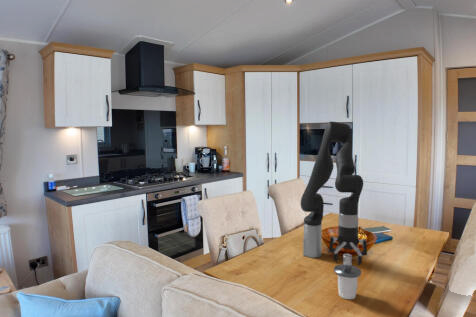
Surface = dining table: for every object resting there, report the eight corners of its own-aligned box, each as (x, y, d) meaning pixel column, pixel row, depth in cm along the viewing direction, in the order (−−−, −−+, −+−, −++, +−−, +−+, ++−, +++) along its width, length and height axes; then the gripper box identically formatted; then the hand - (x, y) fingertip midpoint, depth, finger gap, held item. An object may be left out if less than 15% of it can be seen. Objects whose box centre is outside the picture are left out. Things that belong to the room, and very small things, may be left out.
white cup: (334, 290, 135) (334, 268, 134) (352, 289, 135) (352, 267, 134) (341, 300, 127) (342, 276, 126) (360, 299, 127) (361, 275, 126)
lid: (333, 276, 127) (333, 258, 126) (333, 265, 137) (334, 249, 136) (362, 279, 124) (362, 261, 123) (360, 267, 134) (360, 251, 133)
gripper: (329, 225, 127) (329, 265, 128) (368, 228, 122) (367, 269, 124) (330, 220, 134) (329, 257, 135) (366, 222, 130) (365, 261, 131)
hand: (347, 263), depth 130 cm, fingers open, 8 cm apart
